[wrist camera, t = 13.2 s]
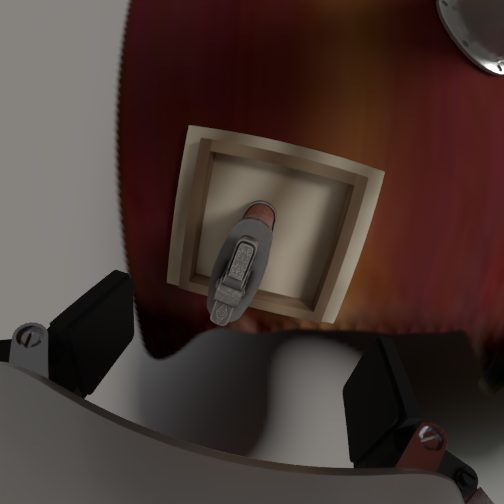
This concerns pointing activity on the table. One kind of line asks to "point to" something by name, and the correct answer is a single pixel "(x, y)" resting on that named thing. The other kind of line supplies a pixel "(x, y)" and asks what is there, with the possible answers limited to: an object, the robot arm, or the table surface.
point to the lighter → (241, 263)
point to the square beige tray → (287, 220)
